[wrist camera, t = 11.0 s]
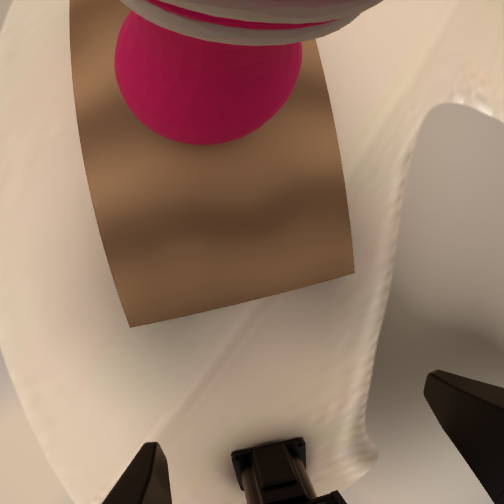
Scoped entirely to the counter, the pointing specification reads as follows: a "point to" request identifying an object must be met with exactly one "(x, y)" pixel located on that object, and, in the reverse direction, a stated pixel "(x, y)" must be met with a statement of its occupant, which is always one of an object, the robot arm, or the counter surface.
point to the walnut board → (207, 190)
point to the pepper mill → (217, 61)
